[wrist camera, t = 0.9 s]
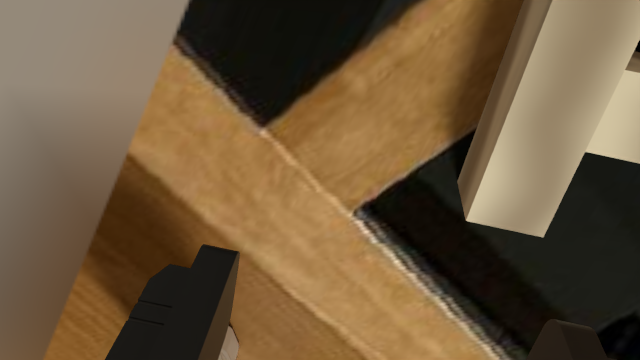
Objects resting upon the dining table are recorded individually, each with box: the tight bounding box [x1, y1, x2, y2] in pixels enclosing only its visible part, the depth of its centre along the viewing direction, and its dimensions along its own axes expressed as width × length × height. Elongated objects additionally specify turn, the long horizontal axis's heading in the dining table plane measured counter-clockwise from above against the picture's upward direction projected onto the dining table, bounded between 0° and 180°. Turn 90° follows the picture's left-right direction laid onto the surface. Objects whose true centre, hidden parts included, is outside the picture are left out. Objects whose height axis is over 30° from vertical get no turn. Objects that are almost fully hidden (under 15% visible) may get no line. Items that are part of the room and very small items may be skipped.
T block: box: [457, 0, 640, 237], centre depth 27 cm, size 12×14×4 cm
